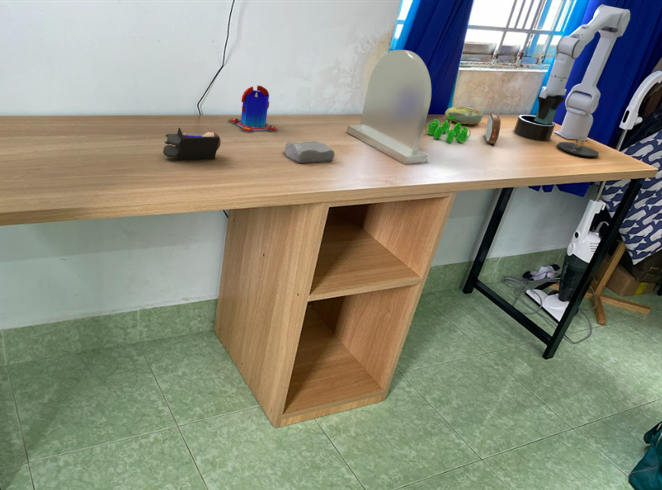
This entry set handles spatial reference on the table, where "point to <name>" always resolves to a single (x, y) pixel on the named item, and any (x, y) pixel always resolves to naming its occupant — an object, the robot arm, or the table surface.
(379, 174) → the table surface
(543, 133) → the black round container
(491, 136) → the tin
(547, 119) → the block
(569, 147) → the lid
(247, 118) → the fantasy tower
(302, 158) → the stone block
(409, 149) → the award
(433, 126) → the green bumpy cluster
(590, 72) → the robot arm
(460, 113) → the cell model
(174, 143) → the character figurine
